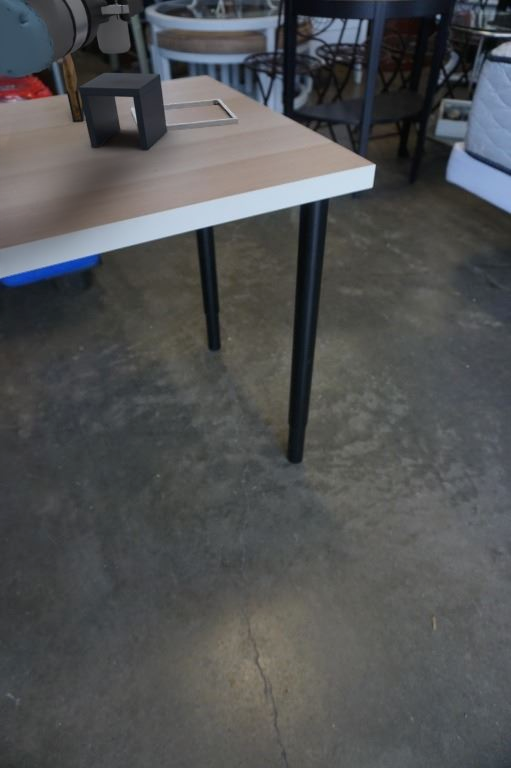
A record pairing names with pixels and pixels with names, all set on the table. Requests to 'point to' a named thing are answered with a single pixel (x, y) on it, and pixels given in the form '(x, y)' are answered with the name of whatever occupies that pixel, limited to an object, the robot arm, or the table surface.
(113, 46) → the beverage can
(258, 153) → the table surface
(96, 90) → the shelf
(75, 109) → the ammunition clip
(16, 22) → the robot arm
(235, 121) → the photo frame
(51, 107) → the table surface
